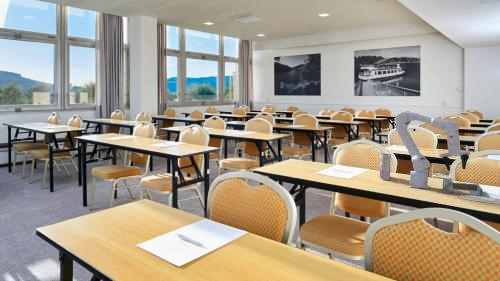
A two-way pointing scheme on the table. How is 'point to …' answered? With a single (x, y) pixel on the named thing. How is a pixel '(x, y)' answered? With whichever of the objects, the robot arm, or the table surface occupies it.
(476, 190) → the tray
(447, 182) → the blue block
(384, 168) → the candy bar box
